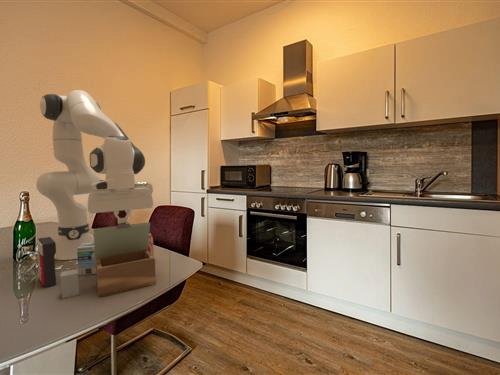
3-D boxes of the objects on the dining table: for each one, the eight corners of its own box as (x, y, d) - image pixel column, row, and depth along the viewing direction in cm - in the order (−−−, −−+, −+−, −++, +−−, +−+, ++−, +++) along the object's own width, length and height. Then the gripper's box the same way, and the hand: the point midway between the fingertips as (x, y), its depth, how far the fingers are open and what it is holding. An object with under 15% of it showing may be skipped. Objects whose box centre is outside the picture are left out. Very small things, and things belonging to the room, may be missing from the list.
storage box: (96, 283, 94) (95, 258, 93) (148, 272, 103) (147, 249, 102) (99, 297, 83) (97, 268, 83) (155, 283, 93) (154, 258, 92)
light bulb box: (77, 275, 101) (76, 247, 100) (83, 269, 107) (82, 242, 107) (109, 272, 104) (107, 245, 103) (113, 266, 110) (111, 240, 110)
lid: (94, 259, 92) (94, 256, 94) (148, 250, 102) (147, 247, 103) (94, 230, 86) (93, 227, 87) (150, 223, 95) (149, 221, 97)
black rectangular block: (38, 279, 98) (35, 238, 97) (52, 275, 101) (49, 236, 100) (43, 288, 91) (39, 244, 89) (58, 284, 94) (55, 241, 92)
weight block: (62, 293, 87) (61, 272, 86) (79, 289, 89) (77, 269, 89) (61, 298, 83) (60, 276, 83) (79, 294, 86) (77, 273, 85)
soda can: (147, 265, 110) (146, 236, 109) (132, 264, 112) (131, 236, 111) (157, 260, 117) (156, 232, 116) (142, 259, 119) (141, 232, 118)
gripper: (150, 181, 100) (152, 218, 101) (85, 184, 89) (88, 225, 90) (154, 182, 95) (156, 221, 96) (86, 185, 84) (89, 229, 85)
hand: (122, 223), depth 93 cm, fingers closed
